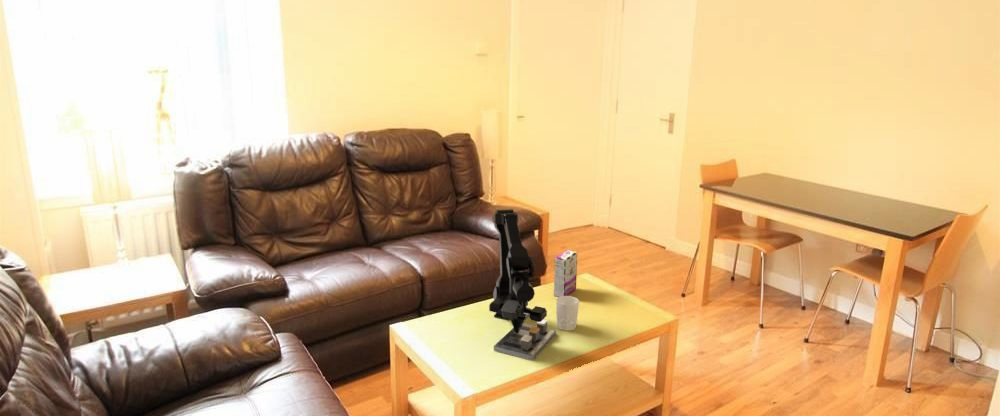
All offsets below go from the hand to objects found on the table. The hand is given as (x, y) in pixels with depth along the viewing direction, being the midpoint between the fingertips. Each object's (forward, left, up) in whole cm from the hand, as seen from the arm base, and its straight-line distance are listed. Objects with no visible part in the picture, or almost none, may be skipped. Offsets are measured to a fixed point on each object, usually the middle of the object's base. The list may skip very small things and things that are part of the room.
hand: (517, 332), depth 203 cm
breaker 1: (+6, -7, -1) cm, 9 cm away
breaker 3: (+6, +6, -1) cm, 9 cm away
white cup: (+11, +17, -3) cm, 21 cm away
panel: (+3, 0, -3) cm, 4 cm away
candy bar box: (0, +45, -3) cm, 46 cm away
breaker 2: (+6, 0, -1) cm, 6 cm away
